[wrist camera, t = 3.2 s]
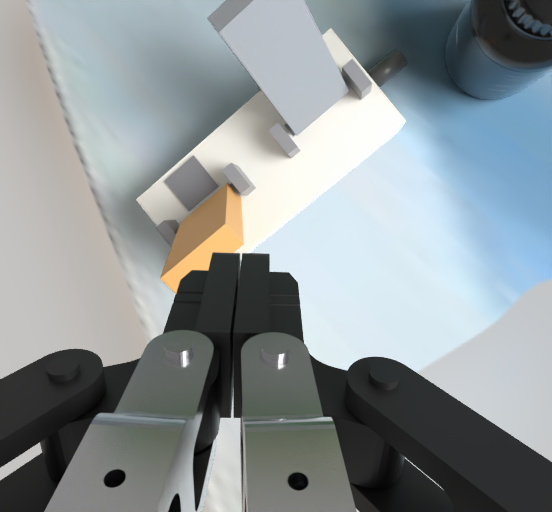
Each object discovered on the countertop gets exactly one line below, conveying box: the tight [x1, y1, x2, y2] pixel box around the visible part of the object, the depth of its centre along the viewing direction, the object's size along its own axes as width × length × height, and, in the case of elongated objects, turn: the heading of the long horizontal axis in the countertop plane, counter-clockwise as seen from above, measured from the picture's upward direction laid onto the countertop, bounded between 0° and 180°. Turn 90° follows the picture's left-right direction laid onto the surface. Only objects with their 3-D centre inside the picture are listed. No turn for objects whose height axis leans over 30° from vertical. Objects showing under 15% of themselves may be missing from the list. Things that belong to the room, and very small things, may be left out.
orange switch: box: [160, 183, 244, 294], centre depth 29 cm, size 5×1×10 cm, turn 129°
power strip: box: [136, 28, 407, 261], centre depth 34 cm, size 21×8×6 cm, turn 129°
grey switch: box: [207, 0, 350, 137], centre depth 28 cm, size 5×1×10 cm, turn 129°
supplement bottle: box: [445, 0, 552, 100], centre depth 29 cm, size 7×7×12 cm
